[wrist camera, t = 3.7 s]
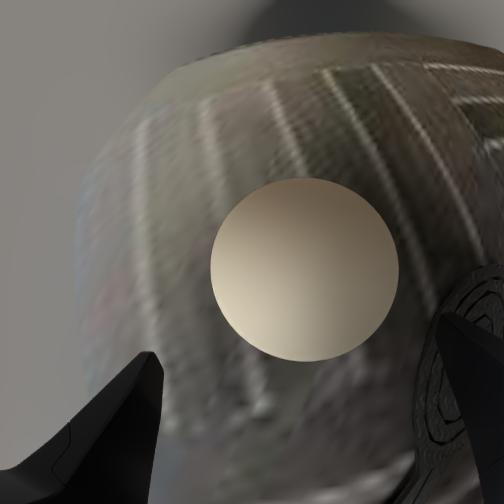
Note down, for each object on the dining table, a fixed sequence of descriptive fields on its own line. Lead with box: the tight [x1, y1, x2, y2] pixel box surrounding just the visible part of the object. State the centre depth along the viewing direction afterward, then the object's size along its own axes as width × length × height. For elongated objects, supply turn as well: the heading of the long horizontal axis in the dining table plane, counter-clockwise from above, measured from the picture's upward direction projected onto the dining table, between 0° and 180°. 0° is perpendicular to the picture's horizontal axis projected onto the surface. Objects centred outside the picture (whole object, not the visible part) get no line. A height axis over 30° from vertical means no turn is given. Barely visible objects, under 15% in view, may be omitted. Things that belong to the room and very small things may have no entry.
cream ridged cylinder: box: [211, 178, 399, 361], centre depth 11 cm, size 4×4×12 cm
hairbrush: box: [393, 263, 504, 504], centre depth 12 cm, size 8×4×25 cm
